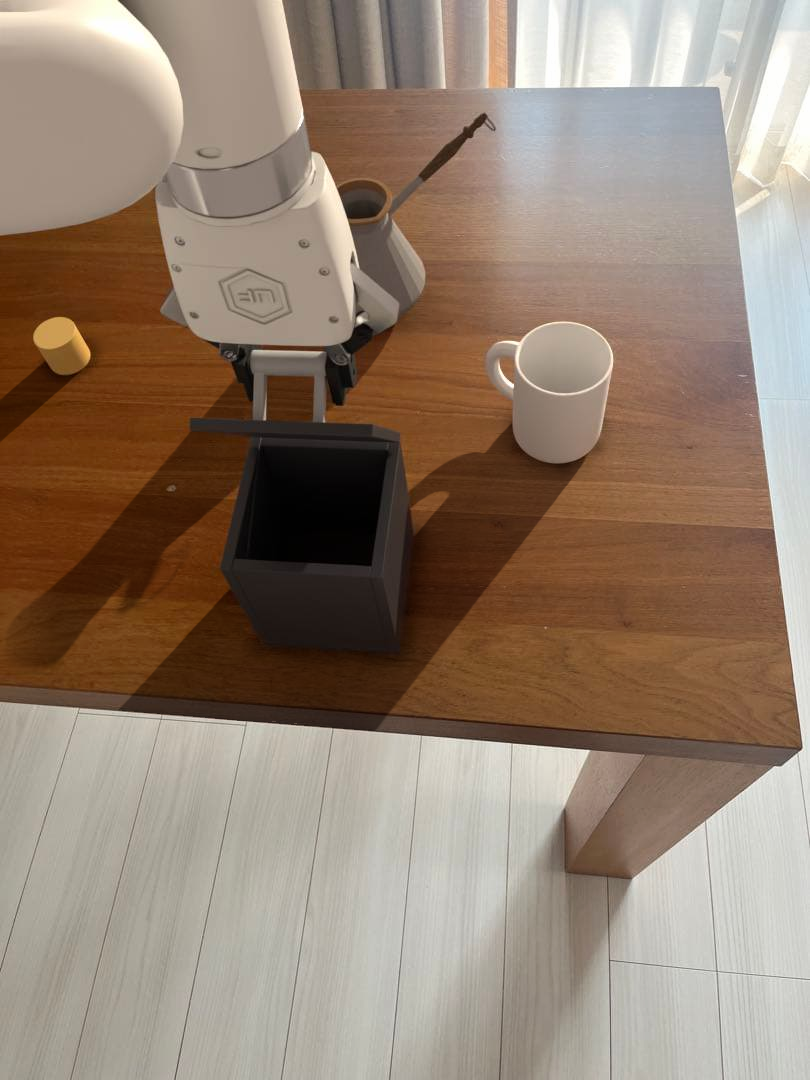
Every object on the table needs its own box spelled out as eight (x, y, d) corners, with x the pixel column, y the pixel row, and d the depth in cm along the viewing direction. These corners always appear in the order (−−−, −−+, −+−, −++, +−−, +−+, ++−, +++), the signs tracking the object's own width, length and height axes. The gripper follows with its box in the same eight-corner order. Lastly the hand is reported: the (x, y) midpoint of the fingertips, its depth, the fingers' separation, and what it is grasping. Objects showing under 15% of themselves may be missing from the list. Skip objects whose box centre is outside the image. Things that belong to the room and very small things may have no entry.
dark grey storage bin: (399, 654, 74) (382, 578, 62) (262, 645, 75) (219, 568, 63) (414, 532, 80) (400, 441, 68) (286, 526, 81) (251, 435, 69)
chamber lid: (372, 437, 55) (375, 348, 54) (189, 430, 56) (191, 343, 56) (399, 442, 67) (402, 371, 67) (249, 437, 69) (251, 366, 68)
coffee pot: (357, 357, 90) (335, 241, 77) (300, 293, 96) (271, 175, 83) (523, 263, 95) (528, 139, 82) (460, 207, 100) (456, 82, 87)
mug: (462, 423, 85) (459, 350, 76) (511, 367, 88) (513, 291, 79) (570, 481, 81) (579, 411, 72) (617, 421, 84) (631, 346, 75)
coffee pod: (52, 380, 92) (35, 354, 89) (47, 350, 95) (30, 324, 91) (93, 367, 93) (78, 341, 89) (87, 338, 95) (72, 311, 92)
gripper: (53, 201, 44) (167, 426, 59) (394, 206, 42) (419, 438, 57) (96, 106, 47) (193, 342, 63) (412, 106, 45) (431, 350, 61)
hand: (300, 385), depth 60 cm, fingers closed on chamber lid, 5 cm apart
